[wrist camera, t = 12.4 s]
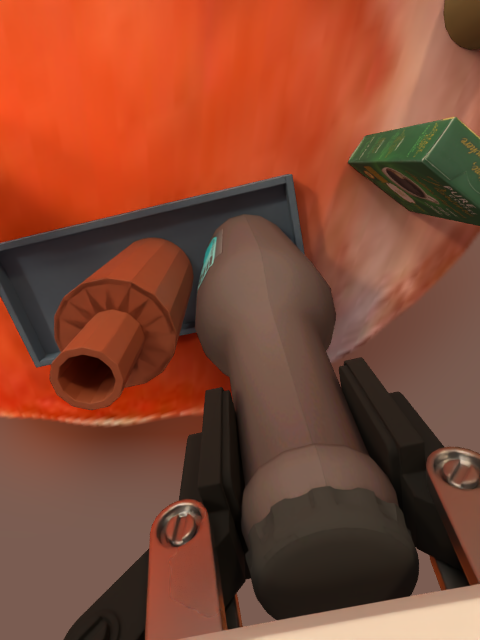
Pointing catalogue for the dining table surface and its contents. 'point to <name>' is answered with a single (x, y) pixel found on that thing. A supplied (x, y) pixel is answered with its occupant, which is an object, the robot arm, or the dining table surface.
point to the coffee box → (426, 168)
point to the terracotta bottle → (121, 323)
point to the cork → (463, 22)
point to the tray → (116, 235)
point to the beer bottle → (297, 432)
